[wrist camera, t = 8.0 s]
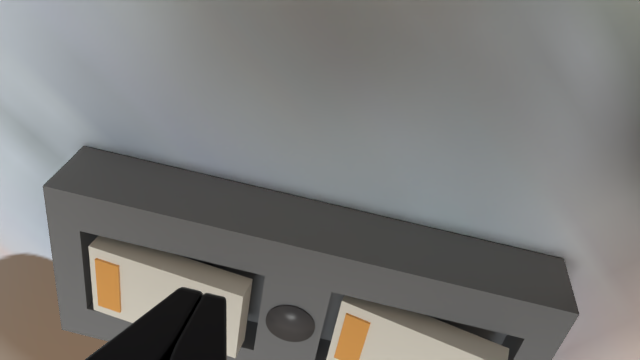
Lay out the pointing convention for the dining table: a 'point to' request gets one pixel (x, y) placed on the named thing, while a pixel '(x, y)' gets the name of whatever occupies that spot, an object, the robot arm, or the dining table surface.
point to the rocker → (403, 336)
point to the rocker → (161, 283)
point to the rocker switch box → (297, 259)
